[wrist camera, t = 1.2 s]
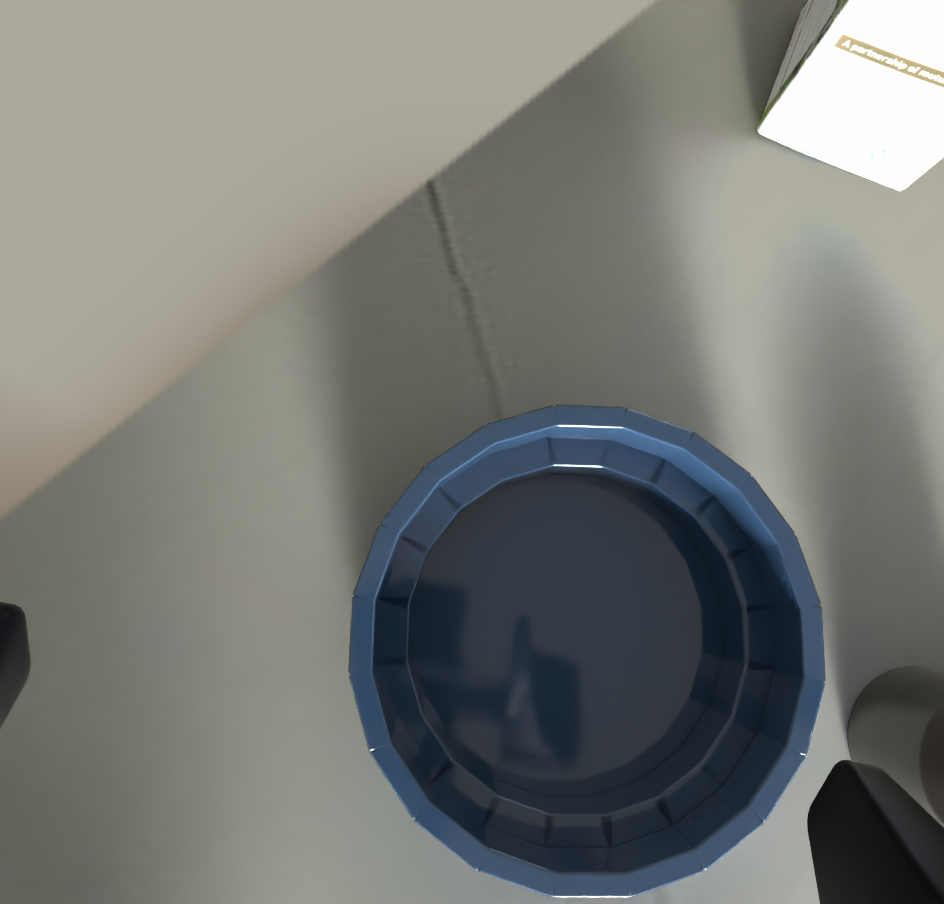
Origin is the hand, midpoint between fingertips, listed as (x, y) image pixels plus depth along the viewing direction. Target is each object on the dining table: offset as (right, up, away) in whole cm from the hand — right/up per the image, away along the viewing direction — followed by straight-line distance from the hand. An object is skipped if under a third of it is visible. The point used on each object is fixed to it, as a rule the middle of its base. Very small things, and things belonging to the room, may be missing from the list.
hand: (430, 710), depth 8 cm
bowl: (+3, -3, +15) cm, 15 cm away
